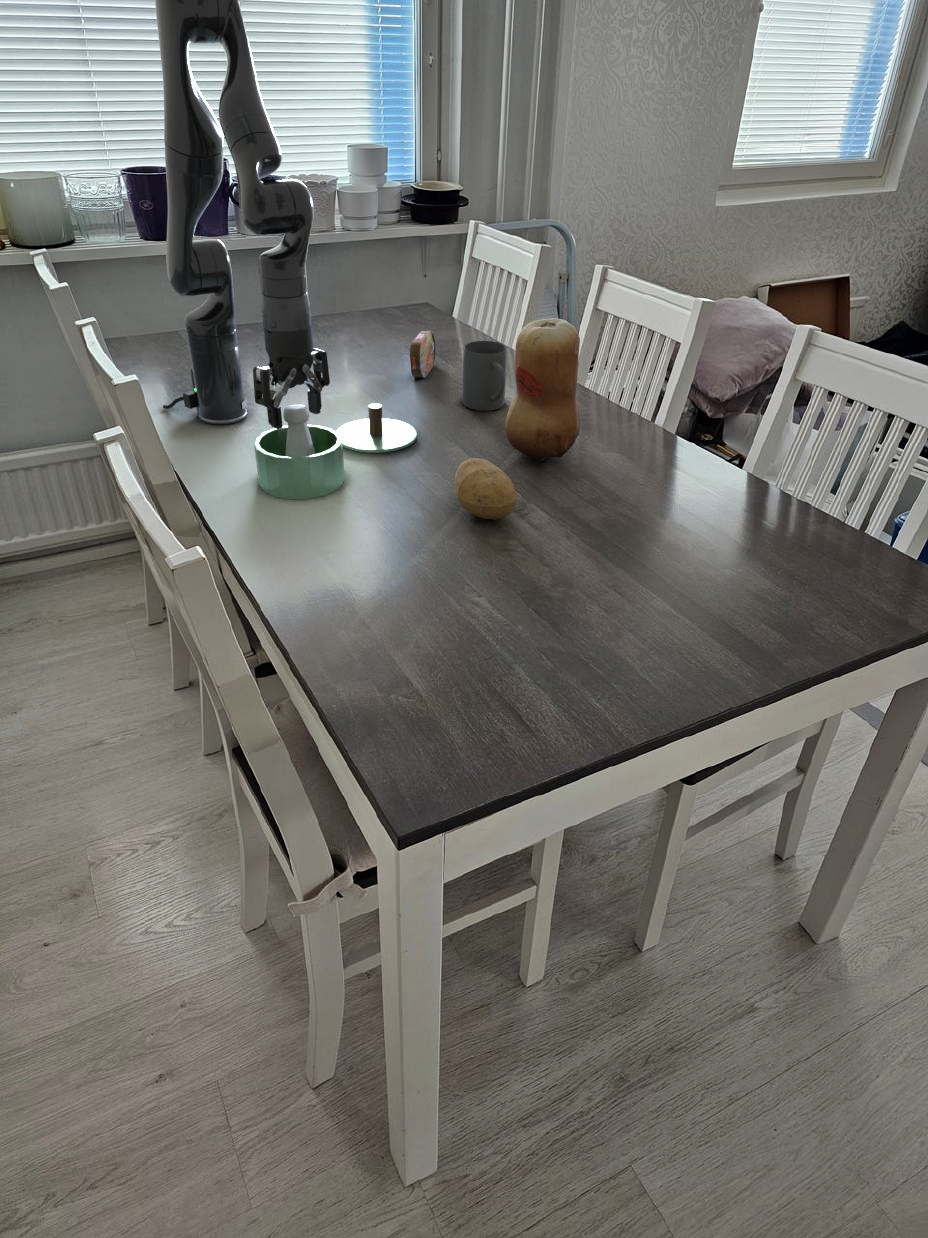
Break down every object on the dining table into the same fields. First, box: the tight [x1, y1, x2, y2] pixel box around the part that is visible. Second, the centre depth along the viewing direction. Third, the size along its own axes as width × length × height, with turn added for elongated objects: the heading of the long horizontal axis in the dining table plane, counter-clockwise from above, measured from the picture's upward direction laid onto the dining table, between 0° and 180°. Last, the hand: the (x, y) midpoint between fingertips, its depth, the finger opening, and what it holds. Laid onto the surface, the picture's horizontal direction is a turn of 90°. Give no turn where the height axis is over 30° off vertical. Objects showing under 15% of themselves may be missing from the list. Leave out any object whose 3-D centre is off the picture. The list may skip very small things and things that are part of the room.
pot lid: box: [335, 403, 418, 454], centre depth 164 cm, size 16×16×7 cm
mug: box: [461, 340, 508, 412], centre depth 178 cm, size 14×9×12 cm
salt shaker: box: [282, 403, 315, 457], centre depth 146 cm, size 6×6×13 cm
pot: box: [253, 424, 345, 500], centre depth 148 cm, size 15×15×7 cm
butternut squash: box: [504, 317, 581, 462], centre depth 153 cm, size 14×13×25 cm
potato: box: [454, 457, 517, 521], centre depth 139 cm, size 10×14×8 cm
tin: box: [409, 330, 436, 379], centre depth 196 cm, size 15×3×8 cm, turn 168°
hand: (296, 419), depth 144 cm, fingers open, 8 cm apart
